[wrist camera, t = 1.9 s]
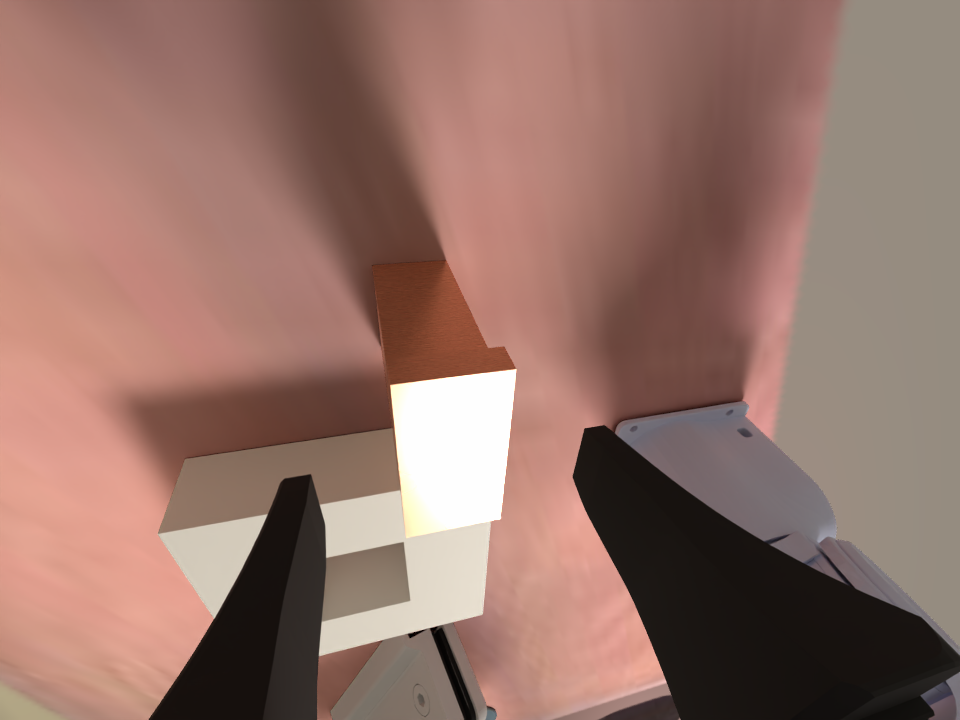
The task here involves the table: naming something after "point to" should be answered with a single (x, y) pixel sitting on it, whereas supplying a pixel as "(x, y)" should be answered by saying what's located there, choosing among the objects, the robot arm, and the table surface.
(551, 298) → the table surface
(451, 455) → the t-shaped block
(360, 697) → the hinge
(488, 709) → the cocktail glass
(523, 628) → the table surface
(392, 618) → the well block
